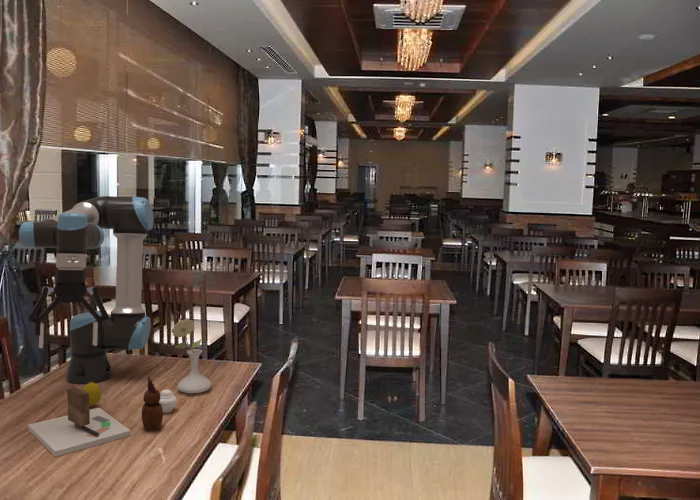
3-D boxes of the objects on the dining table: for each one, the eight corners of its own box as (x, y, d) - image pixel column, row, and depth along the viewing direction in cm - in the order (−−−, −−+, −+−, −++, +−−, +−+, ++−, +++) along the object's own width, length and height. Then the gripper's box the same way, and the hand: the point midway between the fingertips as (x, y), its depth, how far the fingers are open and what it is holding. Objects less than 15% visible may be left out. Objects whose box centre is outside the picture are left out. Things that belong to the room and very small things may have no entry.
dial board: (99, 412, 187) (99, 407, 187) (130, 435, 172) (130, 430, 171) (28, 429, 174) (28, 424, 173) (55, 456, 158) (55, 451, 158)
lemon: (94, 410, 188) (93, 385, 187) (78, 408, 190) (77, 384, 189) (104, 404, 194) (104, 379, 193) (89, 402, 195) (88, 378, 194)
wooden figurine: (140, 424, 179) (140, 375, 177) (161, 422, 181) (160, 373, 180) (142, 434, 173) (142, 382, 171) (164, 431, 175) (163, 380, 173)
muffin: (175, 414, 187) (175, 392, 186) (154, 415, 186) (154, 393, 185) (177, 407, 193) (177, 385, 192) (157, 407, 192) (157, 386, 191)
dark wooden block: (76, 422, 175) (75, 387, 174) (102, 434, 168) (101, 397, 167) (68, 424, 173) (67, 389, 172) (94, 437, 166) (93, 400, 165)
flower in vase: (209, 383, 215) (209, 314, 212) (213, 394, 205) (213, 321, 202) (171, 386, 211) (170, 315, 208) (172, 398, 201) (172, 323, 197)
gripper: (20, 268, 159) (17, 350, 159) (121, 270, 172) (118, 345, 172) (18, 268, 166) (16, 346, 165) (115, 269, 179) (113, 342, 178)
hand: (68, 346), depth 169 cm, fingers open, 13 cm apart
